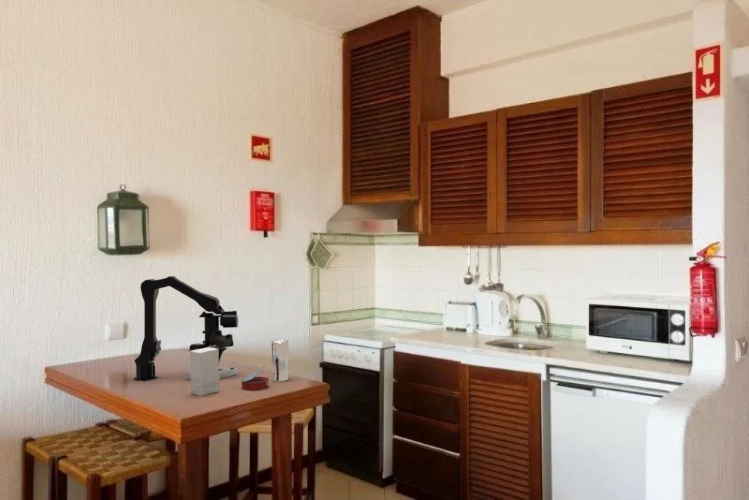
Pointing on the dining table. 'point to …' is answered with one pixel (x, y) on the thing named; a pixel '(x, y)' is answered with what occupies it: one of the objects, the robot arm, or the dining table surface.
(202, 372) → the skincare box
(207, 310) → the robot arm
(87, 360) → the dining table surface
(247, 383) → the canned food
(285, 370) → the white tall container
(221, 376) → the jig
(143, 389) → the dining table surface
